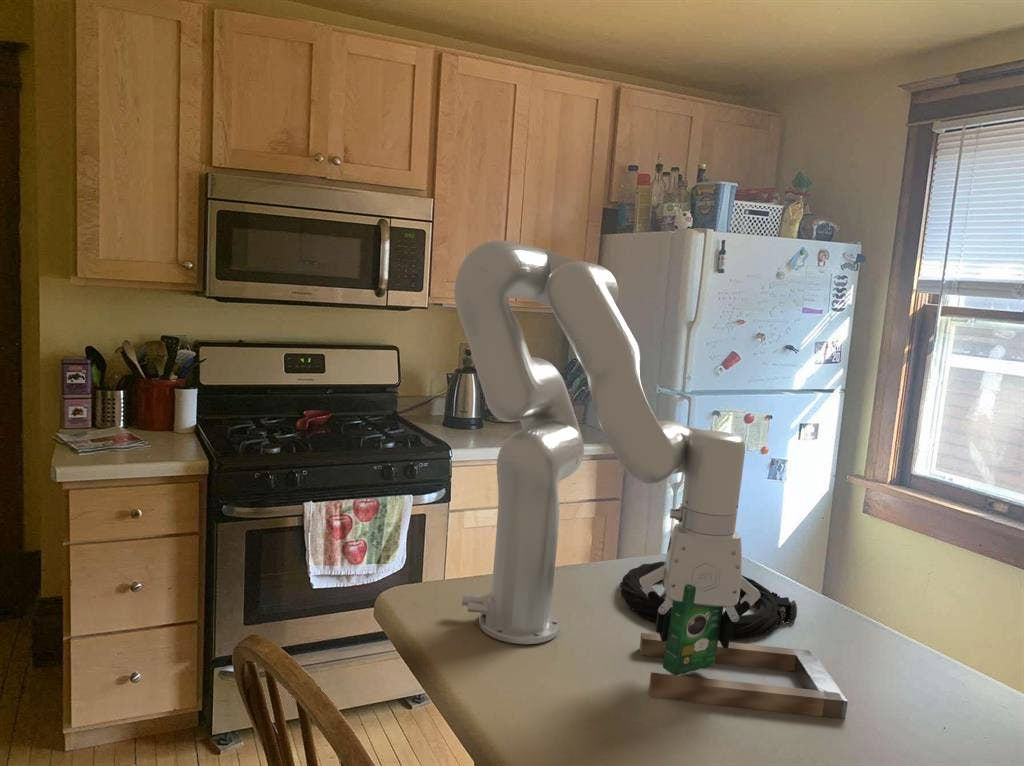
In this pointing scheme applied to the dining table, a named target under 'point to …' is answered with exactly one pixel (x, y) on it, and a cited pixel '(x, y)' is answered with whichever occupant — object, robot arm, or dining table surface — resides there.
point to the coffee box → (691, 635)
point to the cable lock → (747, 625)
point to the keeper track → (812, 700)
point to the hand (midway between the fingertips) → (693, 640)
